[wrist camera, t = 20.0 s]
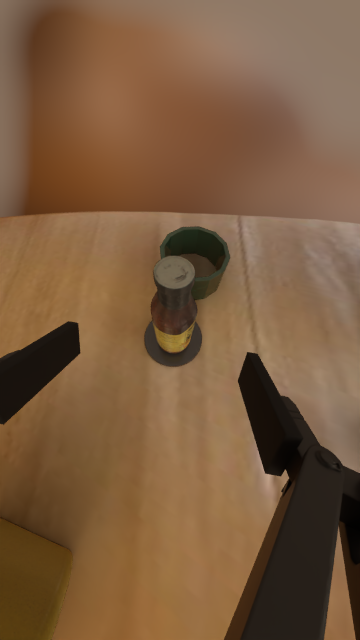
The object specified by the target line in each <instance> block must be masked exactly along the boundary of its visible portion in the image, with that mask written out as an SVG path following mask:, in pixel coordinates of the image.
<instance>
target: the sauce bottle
mask: <svg viewBox="0 0 360 640" xmlns="http://www.w3.org/2000/svg"><path fill="white" fill-rule="evenodd" d="M154 281H155V284H156V286H157V292H156V294H155V296H154V297H153V299H152V302H151V314H152V321H153V325H154V329H155V334H156V338H157V341H158V343H159V345H160V346H161V348H162V349H163V350H164V351H166V352H169V353H179V352H181V351H182V350H184V349H185V348H186V347H187V346H188V344H189V342H190V339H191V335H192V332H193V328H194V324H195V320H196V316H197V305H196V303H195V301H194V299H193V297H192V295H191V289H192V287H193V285H194V282H195V269H194V266H193V265H192V264H191V263H190V261H189V260H187V259H185V258H183V257H180V256H168V257H165V258H163V259H161V260H160V261H158V263H157V264H156V265H155V268H154Z"/></svg>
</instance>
